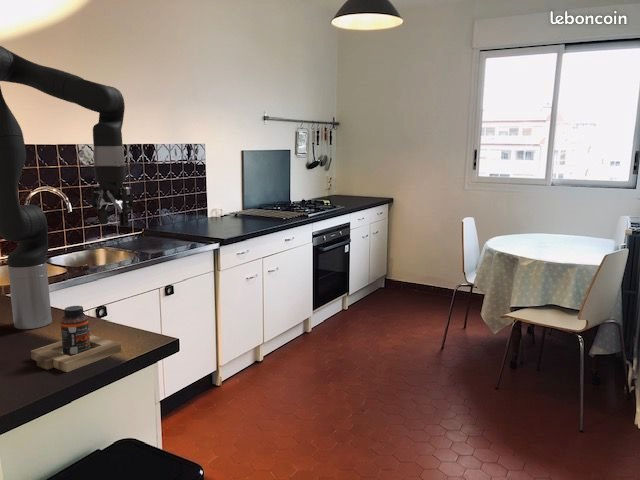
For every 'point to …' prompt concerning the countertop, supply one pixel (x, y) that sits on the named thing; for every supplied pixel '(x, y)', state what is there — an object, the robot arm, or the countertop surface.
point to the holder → (55, 357)
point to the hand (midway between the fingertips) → (113, 225)
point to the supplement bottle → (75, 331)
